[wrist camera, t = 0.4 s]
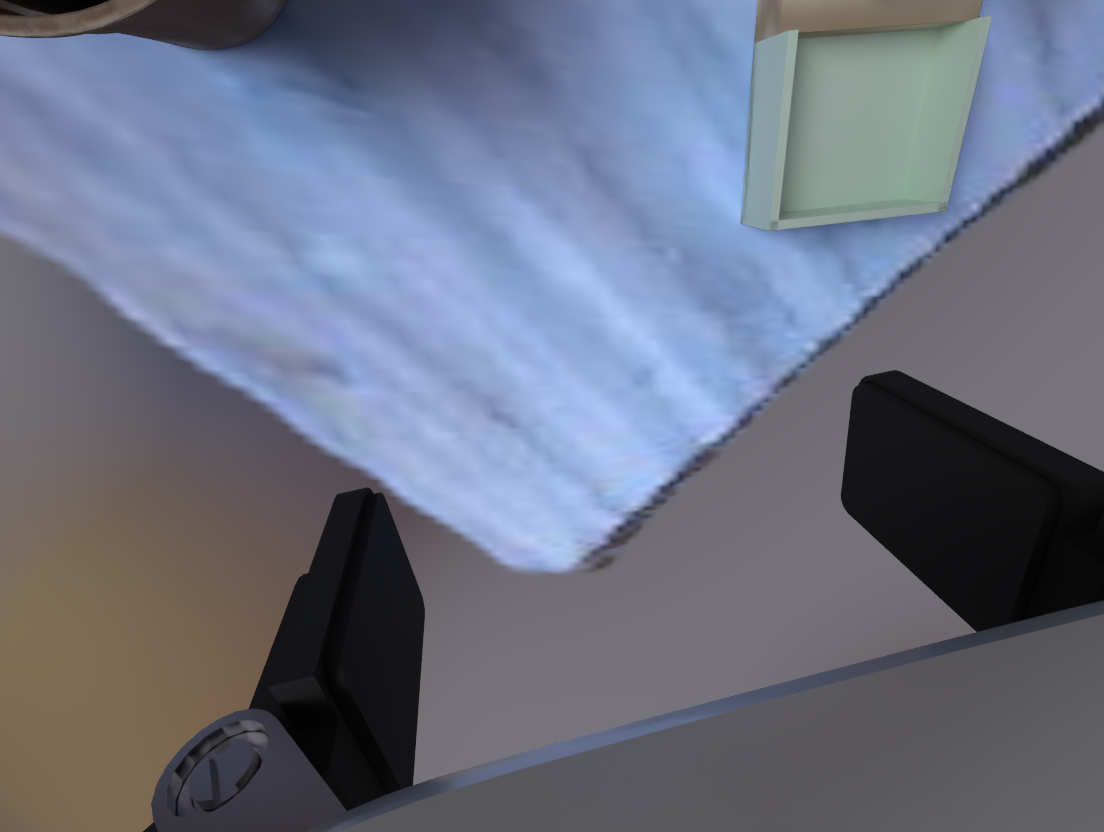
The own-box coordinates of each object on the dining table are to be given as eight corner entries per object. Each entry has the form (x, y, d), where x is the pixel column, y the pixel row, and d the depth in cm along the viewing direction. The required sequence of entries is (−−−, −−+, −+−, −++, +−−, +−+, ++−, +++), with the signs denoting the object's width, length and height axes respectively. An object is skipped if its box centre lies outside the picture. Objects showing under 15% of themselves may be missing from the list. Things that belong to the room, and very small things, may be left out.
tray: (754, 43, 34) (788, 30, 31) (938, 29, 35) (992, 15, 32) (740, 223, 39) (769, 230, 35) (902, 206, 40) (945, 211, 37)
